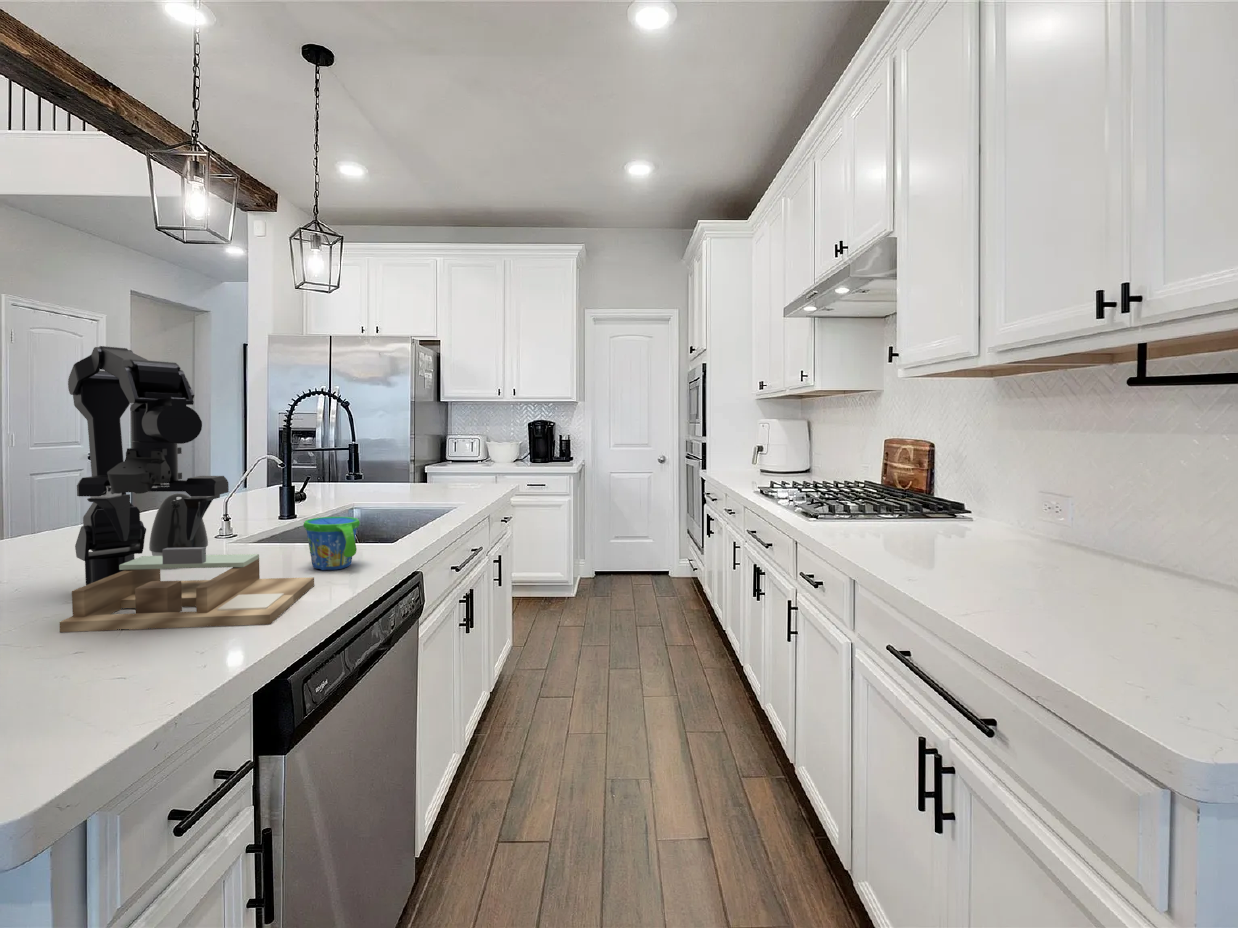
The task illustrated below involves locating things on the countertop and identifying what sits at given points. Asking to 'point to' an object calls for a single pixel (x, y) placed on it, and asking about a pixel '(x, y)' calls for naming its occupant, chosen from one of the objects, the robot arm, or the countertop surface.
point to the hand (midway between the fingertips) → (157, 540)
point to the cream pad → (251, 602)
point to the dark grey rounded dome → (174, 527)
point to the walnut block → (159, 597)
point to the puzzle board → (205, 595)
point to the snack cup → (331, 541)
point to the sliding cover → (188, 560)
